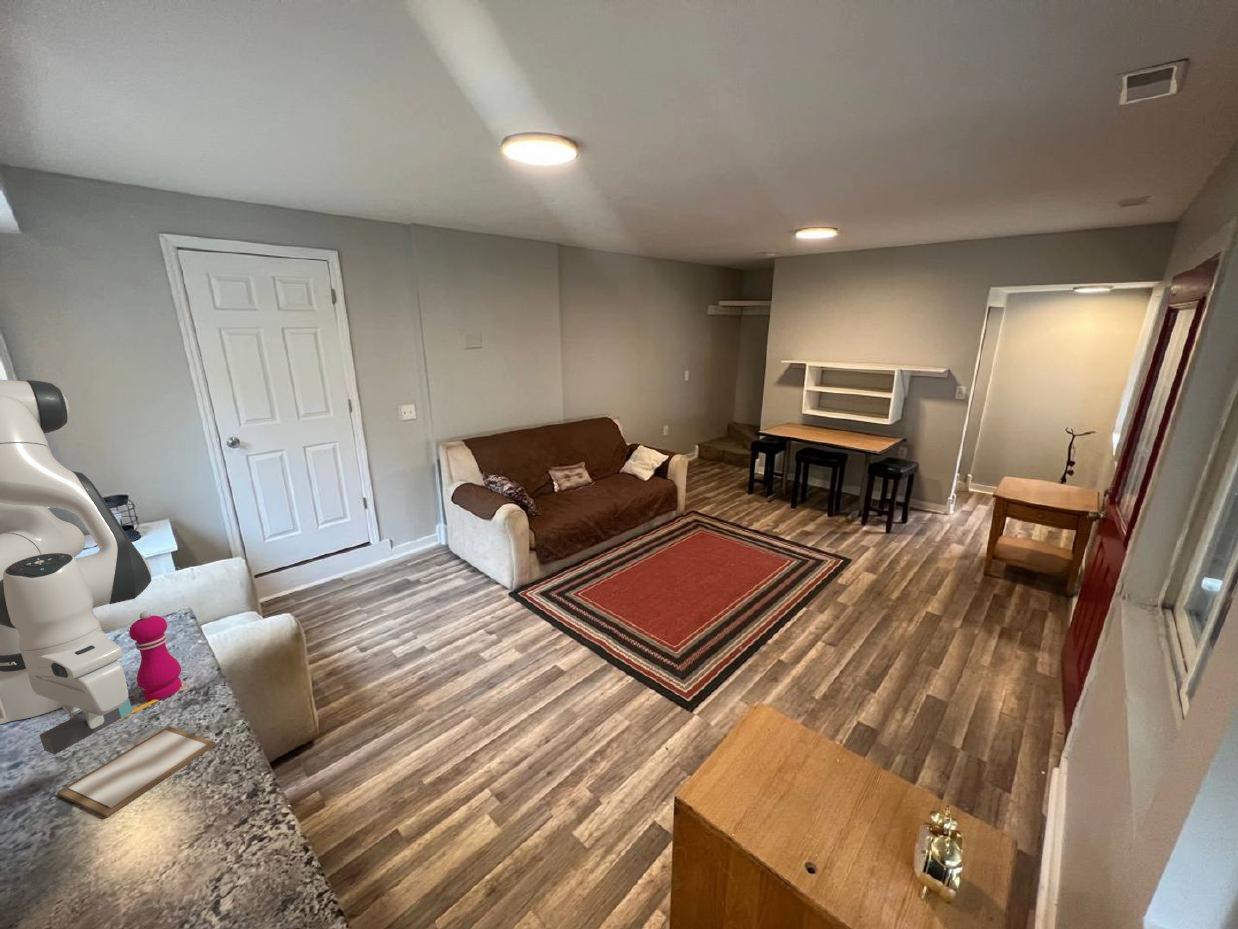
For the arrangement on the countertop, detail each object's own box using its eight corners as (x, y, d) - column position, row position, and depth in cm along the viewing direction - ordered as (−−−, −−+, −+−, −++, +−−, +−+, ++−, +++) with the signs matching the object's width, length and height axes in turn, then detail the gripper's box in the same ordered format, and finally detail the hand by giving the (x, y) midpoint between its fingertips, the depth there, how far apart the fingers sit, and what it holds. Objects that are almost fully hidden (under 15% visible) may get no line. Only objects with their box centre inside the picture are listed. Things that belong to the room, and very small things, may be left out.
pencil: (69, 744, 94) (68, 741, 94) (188, 685, 111) (187, 682, 111) (71, 745, 93) (70, 742, 93) (190, 686, 110) (189, 683, 110)
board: (57, 795, 82) (56, 791, 82) (169, 729, 97) (168, 725, 97) (106, 818, 77) (105, 814, 77) (215, 745, 92) (214, 741, 92)
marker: (44, 750, 78) (39, 735, 77) (122, 708, 87) (118, 694, 87) (54, 754, 77) (49, 738, 77) (132, 712, 86) (128, 697, 86)
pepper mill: (158, 705, 104) (137, 621, 100) (132, 701, 105) (111, 618, 101) (193, 683, 111) (175, 605, 107) (168, 680, 112) (150, 602, 108)
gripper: (4, 651, 79) (27, 723, 82) (75, 672, 73) (98, 749, 76) (57, 631, 85) (77, 699, 88) (127, 649, 79) (147, 721, 82)
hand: (88, 722), depth 82 cm, fingers closed on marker, 3 cm apart
